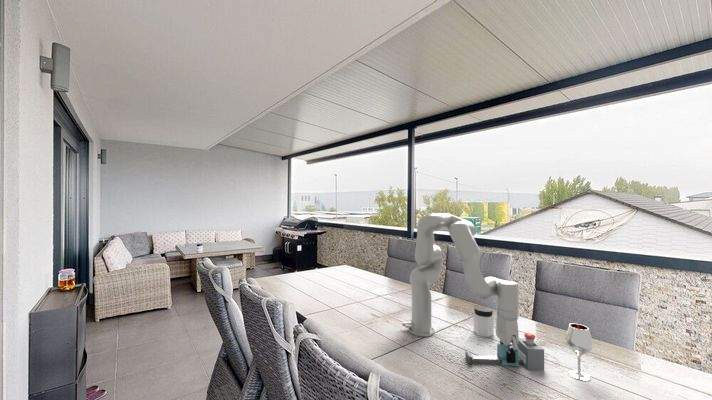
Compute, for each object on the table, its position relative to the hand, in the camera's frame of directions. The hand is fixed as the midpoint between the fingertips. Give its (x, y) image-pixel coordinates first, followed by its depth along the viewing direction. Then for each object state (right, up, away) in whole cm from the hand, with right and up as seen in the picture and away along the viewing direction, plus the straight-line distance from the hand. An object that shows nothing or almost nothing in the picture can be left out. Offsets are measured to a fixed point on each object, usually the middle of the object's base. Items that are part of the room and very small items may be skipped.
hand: (507, 358), depth 116 cm
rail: (-4, -2, 0) cm, 5 cm away
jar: (+2, -3, +27) cm, 27 cm away
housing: (+9, -2, -1) cm, 9 cm away
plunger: (+9, +5, 0) cm, 10 cm away
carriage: (0, -2, 0) cm, 2 cm away
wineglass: (+22, -2, -8) cm, 24 cm away
